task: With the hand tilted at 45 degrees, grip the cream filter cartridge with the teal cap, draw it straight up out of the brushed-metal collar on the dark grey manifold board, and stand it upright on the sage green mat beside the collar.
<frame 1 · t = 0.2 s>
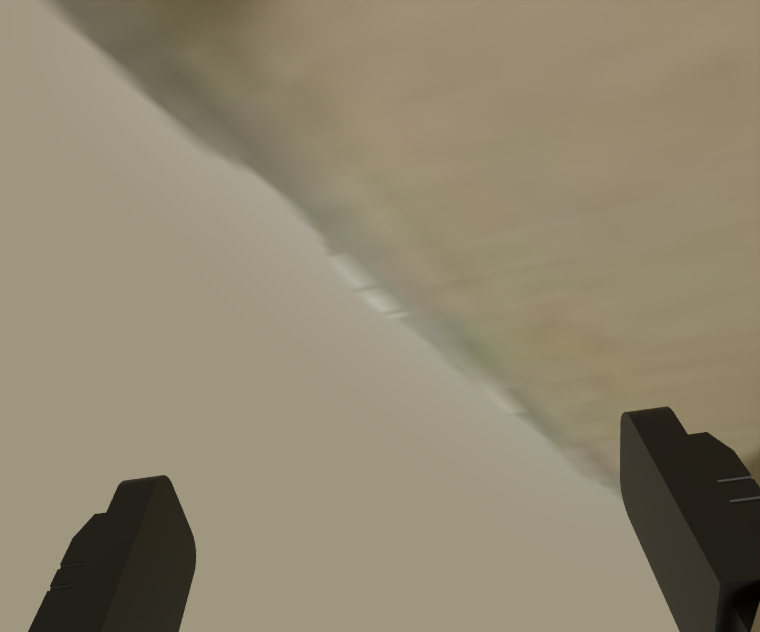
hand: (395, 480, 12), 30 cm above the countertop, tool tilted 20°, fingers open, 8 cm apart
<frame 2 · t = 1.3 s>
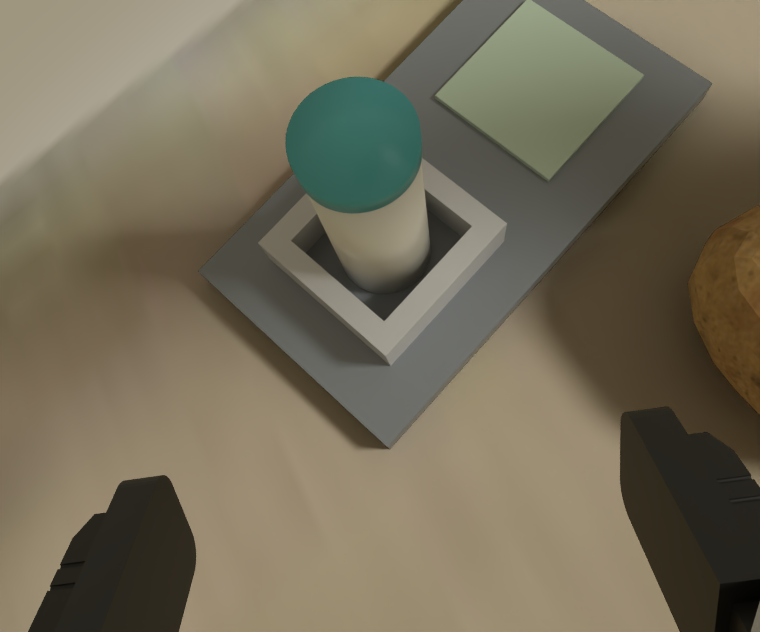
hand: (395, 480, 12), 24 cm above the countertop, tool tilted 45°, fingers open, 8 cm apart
manifold board: (454, 189, 39), on the countertop
filter cartridge: (385, 250, 37), point 1 cm above the countertop, touching manifold board
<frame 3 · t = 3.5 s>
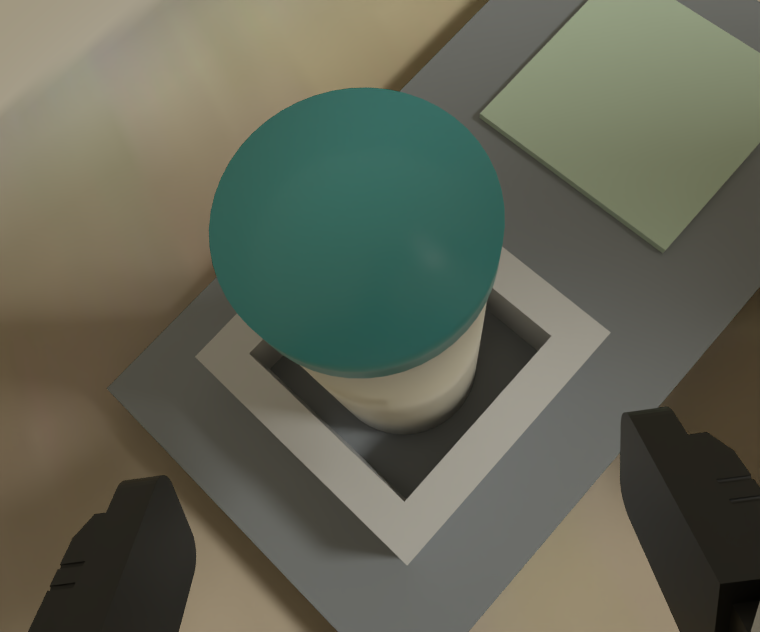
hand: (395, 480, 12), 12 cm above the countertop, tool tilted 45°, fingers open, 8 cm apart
manifold board: (507, 259, 25), on the countertop
filter cartridge: (403, 361, 23), point 1 cm above the countertop, touching manifold board
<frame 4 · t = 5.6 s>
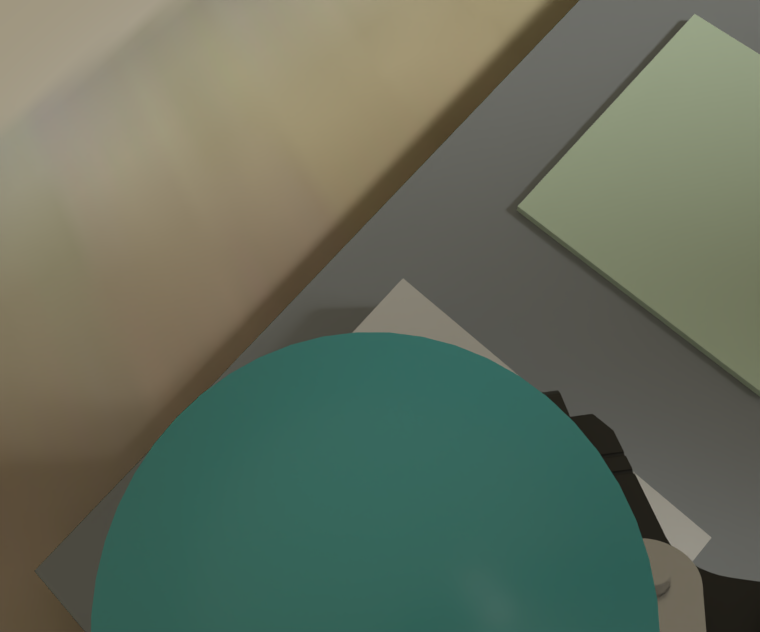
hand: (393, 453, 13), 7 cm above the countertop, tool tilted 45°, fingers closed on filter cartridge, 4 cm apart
manifold board: (553, 391, 20), on the countertop
filter cartridge: (421, 542, 18), point 2 cm above the countertop, touching gripper, manifold board
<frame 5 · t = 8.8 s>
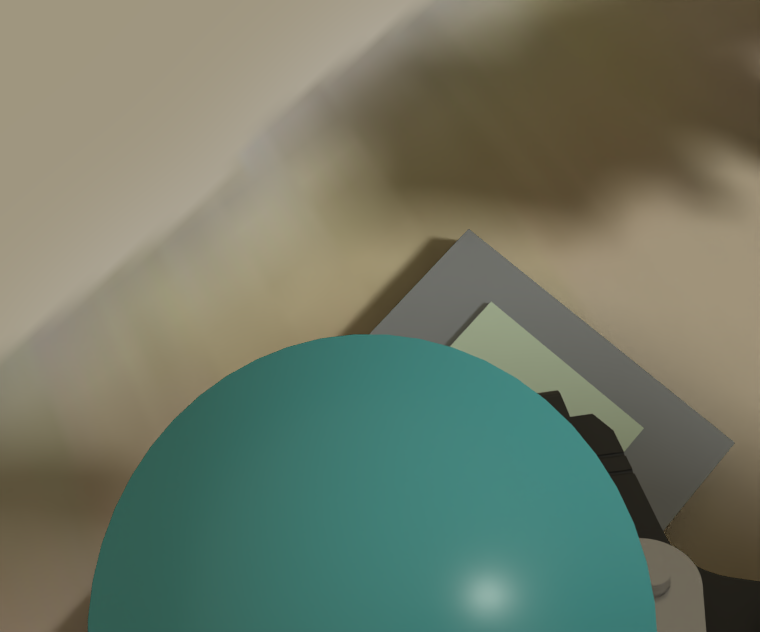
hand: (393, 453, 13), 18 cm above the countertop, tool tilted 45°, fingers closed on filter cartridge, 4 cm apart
manifold board: (388, 563, 29), on the countertop
filter cartridge: (420, 543, 18), point 12 cm above the countertop, touching gripper
when the fingers open (9 cm above the countertop, at t = 12.0 s): filter cartridge drops 1 cm, resting on manifold board.
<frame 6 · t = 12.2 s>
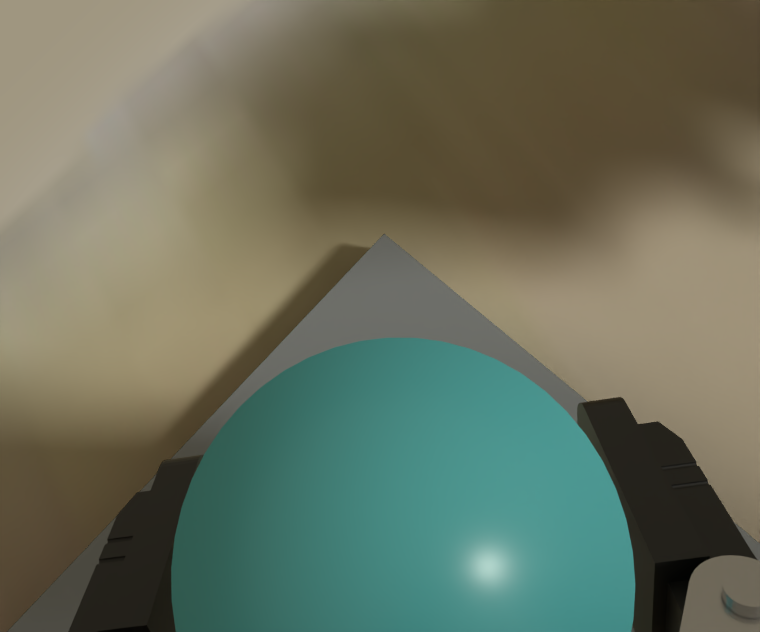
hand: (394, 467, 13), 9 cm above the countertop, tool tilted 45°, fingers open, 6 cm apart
filter cartridge: (423, 543, 19), point 2 cm above the countertop, touching manifold board
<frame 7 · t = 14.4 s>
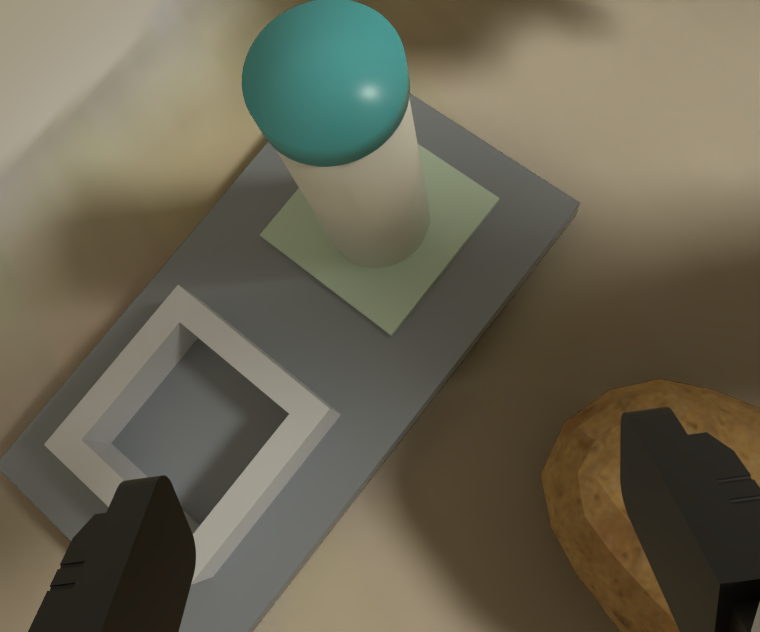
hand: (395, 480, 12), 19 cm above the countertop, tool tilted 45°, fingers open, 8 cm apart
manifold board: (291, 342, 33), on the countertop
filter cartridge: (377, 218, 32), point 2 cm above the countertop, touching manifold board
potato: (688, 537, 29), on the countertop
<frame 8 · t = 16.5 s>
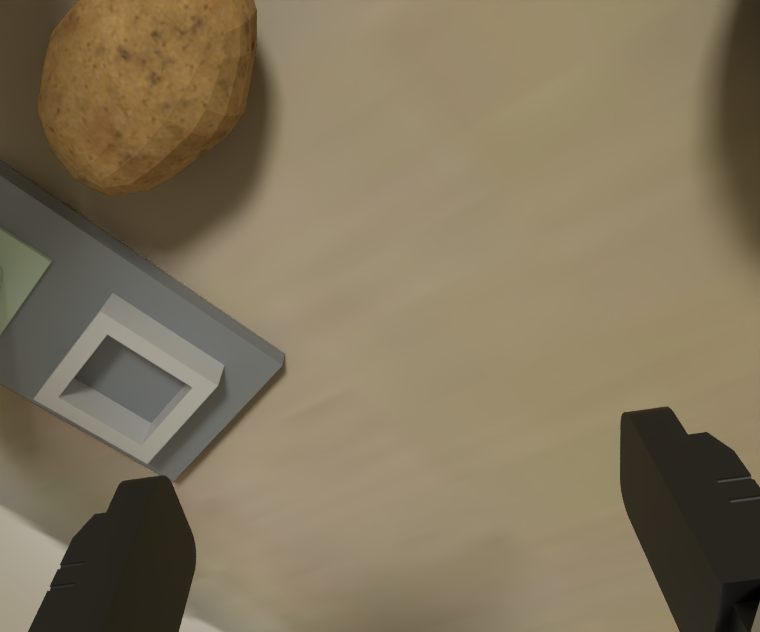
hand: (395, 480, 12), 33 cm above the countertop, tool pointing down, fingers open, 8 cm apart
manifold board: (72, 316, 48), on the countertop
potato: (174, 56, 40), on the countertop
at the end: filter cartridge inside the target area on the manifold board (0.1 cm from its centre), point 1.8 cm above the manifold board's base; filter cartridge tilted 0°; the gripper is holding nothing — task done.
